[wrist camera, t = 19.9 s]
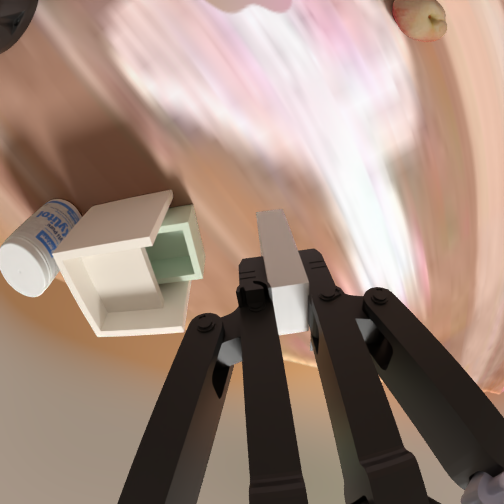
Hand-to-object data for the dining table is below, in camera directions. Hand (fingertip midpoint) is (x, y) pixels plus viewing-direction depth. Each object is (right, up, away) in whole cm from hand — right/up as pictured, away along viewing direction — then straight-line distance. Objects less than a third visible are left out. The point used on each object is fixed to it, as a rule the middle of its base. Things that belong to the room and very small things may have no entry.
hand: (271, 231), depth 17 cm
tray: (-16, +1, +30) cm, 34 cm away
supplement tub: (-34, +4, +27) cm, 43 cm away
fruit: (+22, +34, +12) cm, 42 cm away
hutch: (-19, +1, +29) cm, 35 cm away
